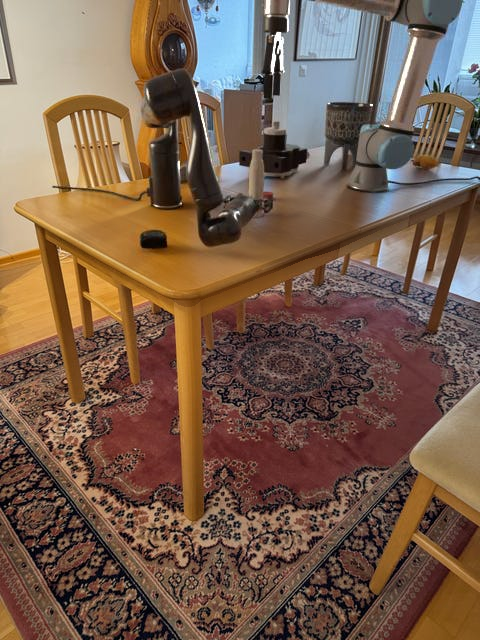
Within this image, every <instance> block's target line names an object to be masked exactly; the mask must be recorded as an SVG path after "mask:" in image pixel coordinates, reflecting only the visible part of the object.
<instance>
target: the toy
mask: <svg viewBox="0 0 480 640" xmlns="http://www.w3.org/2000/svg"><path fill="white" fill-rule="evenodd" d="M410 161H411V163H412V166H414V167H418V168H421V169H424V170H431V169H435V168H437V167H439V166H440V161H438V160H435V158H434V156H432V155H429V154H424V155H419V156H416V157H414V159H410Z"/></svg>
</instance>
